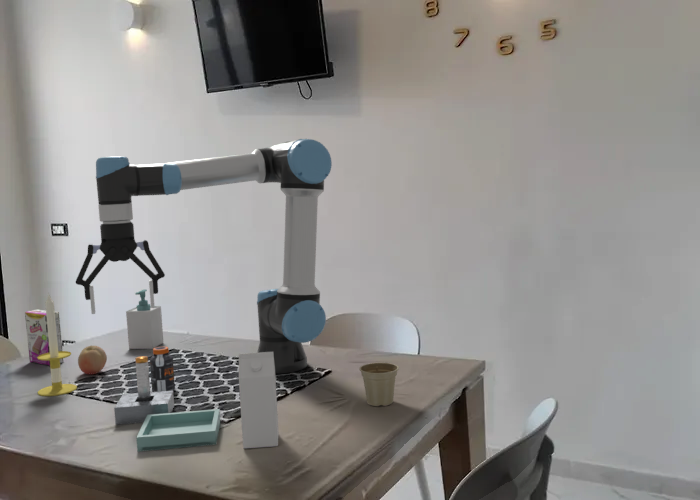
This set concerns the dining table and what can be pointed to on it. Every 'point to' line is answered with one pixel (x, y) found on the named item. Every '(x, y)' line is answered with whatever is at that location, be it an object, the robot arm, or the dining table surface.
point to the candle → (54, 357)
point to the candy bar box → (40, 335)
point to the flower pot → (379, 382)
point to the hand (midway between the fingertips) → (123, 310)
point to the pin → (143, 378)
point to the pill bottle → (162, 370)
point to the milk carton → (258, 400)
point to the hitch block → (142, 407)
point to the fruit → (92, 360)
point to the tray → (179, 430)
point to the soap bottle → (144, 325)
